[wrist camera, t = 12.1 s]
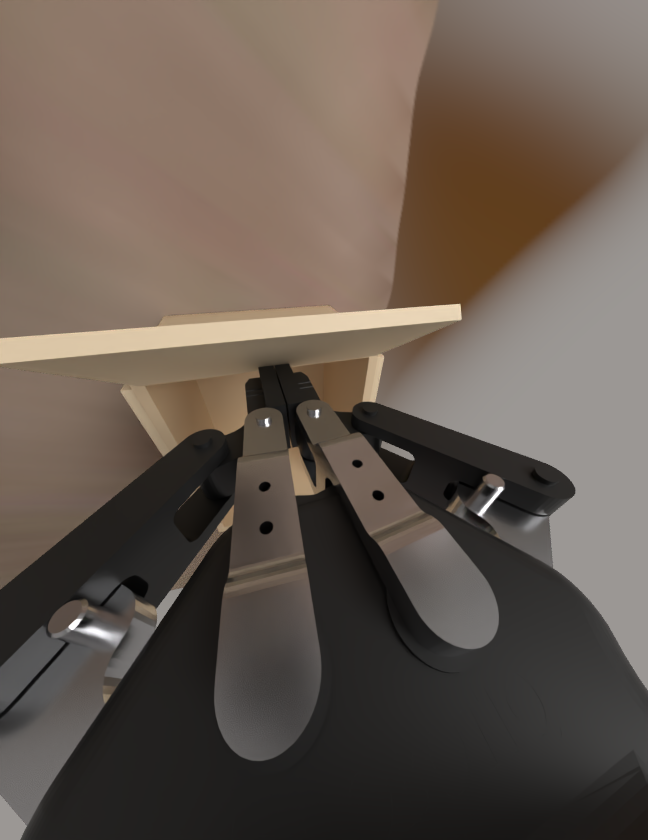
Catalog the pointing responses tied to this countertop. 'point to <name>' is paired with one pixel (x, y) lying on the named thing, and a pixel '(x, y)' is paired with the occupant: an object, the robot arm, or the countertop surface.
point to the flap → (221, 345)
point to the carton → (244, 394)
